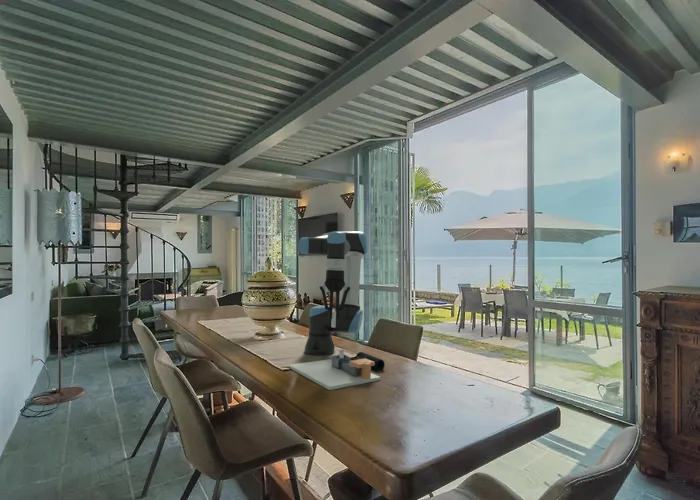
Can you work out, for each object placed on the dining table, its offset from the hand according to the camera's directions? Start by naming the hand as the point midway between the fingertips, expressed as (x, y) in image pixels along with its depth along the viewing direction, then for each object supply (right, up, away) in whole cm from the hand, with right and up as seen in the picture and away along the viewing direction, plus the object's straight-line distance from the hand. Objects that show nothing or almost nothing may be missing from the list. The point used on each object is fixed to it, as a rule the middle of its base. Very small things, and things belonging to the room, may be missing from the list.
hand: (333, 326), depth 157 cm
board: (0, -19, 0) cm, 19 cm away
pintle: (+3, -20, +6) cm, 21 cm away
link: (+6, -18, +1) cm, 19 cm away
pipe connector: (+13, -21, +12) cm, 27 cm away
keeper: (+12, -20, -6) cm, 24 cm away
